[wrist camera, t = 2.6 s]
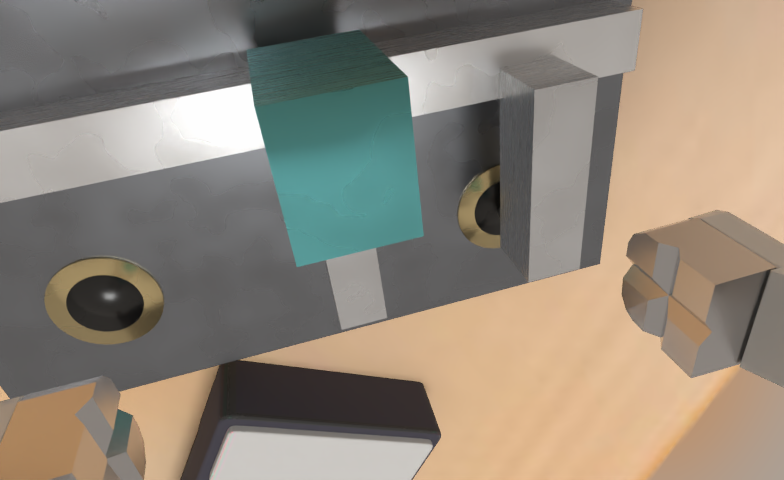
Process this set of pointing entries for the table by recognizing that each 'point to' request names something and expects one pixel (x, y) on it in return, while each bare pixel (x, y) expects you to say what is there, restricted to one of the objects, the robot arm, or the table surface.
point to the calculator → (310, 426)
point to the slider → (339, 159)
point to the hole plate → (254, 177)
